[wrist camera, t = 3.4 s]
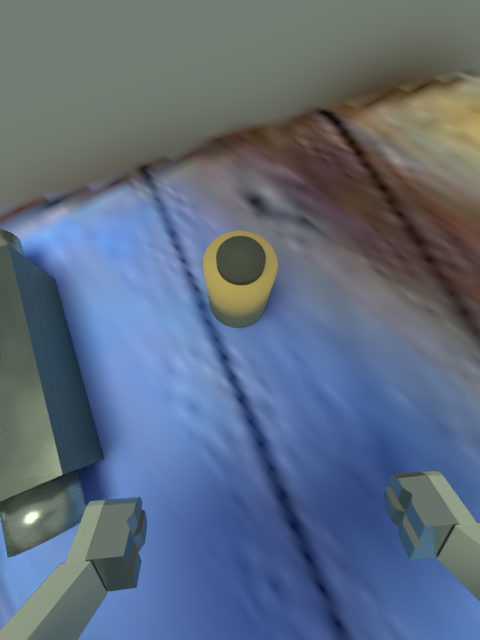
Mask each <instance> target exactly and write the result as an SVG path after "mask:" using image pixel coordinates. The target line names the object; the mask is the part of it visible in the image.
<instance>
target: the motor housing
mask: <svg viewBox="0 0 480 640" xmlns="http://www.w3.org/2000/svg"><path fill="white" fill-rule="evenodd" d="M103 459H104V458H103V454H102V450H101V447H100V443H99V439H98V436H97V432H96V428H95V425H94V421H93V417H92V414H91V410H90V406H89V403H88V399H87V395H86V392H85V388H84V384H83V381H82V377H81V373H80V370H79V366H78V362H77V359H76V355H75V351H74V348H73V344H72V340H71V337H70V333H69V329H68V326H67V322H66V318H65V315H64V311H63V308H62V304H61V300H60V297H59V293H58V289H57V286H56V282H55V279H54V278H52V277H51V276H50V275H48V274H47V273H46V272H44V271H43V270H42V269H40V268H39V267H38V266H36V265H35V264H34V263H33V262H31V261H30V260H29V259H27V258H26V257H25V256H24V252H23V248H22V244H21V241H20V240H19V238H18V237H17V236H15V235H14V234H12V233H10V232H8V231H5V230H2V229H0V517H1V523H2V529H3V534H4V540H5V545H6V551H7V557H12V556H15V555H18V554H20V553H23V552H25V551H27V550H29V549H31V548H34V547H36V546H38V545H40V544H42V543H44V542H46V541H48V540H50V539H52V538H54V537H55V536H57V535H59V534H61V533H63V532H65V531H67V530H68V529H70V528H72V527H73V526H75V525H77V524H78V523H80V522H81V519H82V517H83V514H84V511H85V508H86V507H87V505H86V501H85V497H84V493H83V489H82V485H81V481H80V477H79V473H78V470H80V469H82V468H84V467H87V466H89V465H91V464H94V463H96V462H98V461H100V460H103Z"/></svg>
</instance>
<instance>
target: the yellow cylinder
mask: <svg viewBox="0 0 480 640" xmlns="http://www.w3.org/2000/svg"><path fill="white" fill-rule="evenodd" d="M203 269H204V275H205V281H206V286H207V292H208V297H209V303H210V307H211V311H212V313H213V315H214V316H215V317H216V319H217V320H218V321H220V322H221V323H223V324H224V325H226V326H229V327H234V328H242V327H247V326H249V325H251V324H253V323H255V322H256V321H257V320H258V319H259V318H260V317H261V315H262V314H263V312H264V309H265V306H266V303H267V300H268V298H269V295H270V292H271V289H272V286H273V283H274V280H275V277H276V274H277V270H278V261H277V256H276V253H275V251H274V249H273V248H272V246H271V245H270V244H269V243H268V242H267V241H266V240H265V239H264V238H262V237H261V236H259V235H257V234H255V233H252V232H248V231H232V232H228V233H225V234H223V235H221V236H219V237H217V238H216V239H215V240H214V241H213V242H212V243H211V244H210V245H209V246H208V248H207V250H206V252H205V255H204V259H203Z"/></svg>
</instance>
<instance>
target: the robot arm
mask: <svg viewBox="0 0 480 640" xmlns="http://www.w3.org/2000/svg"><path fill="white" fill-rule="evenodd" d="M388 482H389V484H390V486H389V487H388V488H386V489H385V492H384V505H385V508H386V511H387V513H388V515H389V518H390V520H391V521H392V522H393V523H394V524H396V525H397V526H398V527H399V533H398V536H399V538H400V540H401V542H402V545H403V547H404V549H405V551H406V553H407V555H408V557H409V559H424V558H437V560H438V561H439V562H440V563H441V564H442V565H443V566H444V567H445V568H446V569H447V570H448V571H449V572H450V573H451V574H452V575H453V576H454V577H455V578H456V579H457V580H458V581H459V582H461V583H462V584H463V585H464V586H465V587H466V588H467V589H468V590H469V591H470V592H471V593H472V594H473V595H474V596H475V597H476V598H477V599H478V600H479V601H480V523H477V522H476V521H475V519H474V518H473V516H472V515H471V514H470V512H469V511H468V510H467V508H466V507H465V505H464V504H463V503H462V501H461V500H460V498H459V497H458V496H457V494H456V493H455V492H454V490H453V489H452V487H451V486H450V485H449V483H448V482H447V481H446V479H445V478H444V476H443V475H442V474H441V473H440V472H438V471H435V470H433V471H423V472H411V473H402V474H392V475H391V476H389V479H388ZM141 508H142V500H141V498H140V497H132V498H121V499H110V500H109V499H106V500H96V501H90V502H89V504H88V505H87V507H86V508H85V511H84V514H83V517H82V519H81V522H80V525H79V527H78V530H77V533H76V536H75V538H74V541H73V544H72V546H71V549H70V552H69V555H68V557H67V560H66V563H61V564H59V566H58V567H57V568H56V569H55V570H54V571H53V572H52V573H51V574H50V576H49V577H48V578H47V579H46V580H45V581H44V582H43V583H42V584H41V586H40V587H39V588H38V589H37V590H36V591H35V592H34V593H33V595H32V596H31V597H30V598H29V599H28V600H27V601H26V602H25V603H24V605H23V606H22V607H21V608H20V609H19V610H18V611H17V612H16V614H15V615H14V616H13V617H12V618H11V619H10V620H9V621H8V622H7V624H6V625H5V626H4V627H3V628H2V629H1V630H0V640H78V638H79V637H80V635H81V634H82V632H83V630H84V629H85V627H86V626H87V624H88V623H89V621H90V620H91V618H92V617H93V615H94V613H95V612H96V610H97V609H98V607H99V606H100V604H101V603H102V601H103V600H104V598H105V596H106V595H107V591H115V590H122V589H130V588H137V582H138V577H139V571H140V566H141V558H140V555H139V551H140V549H141V548H142V547H143V545H144V544H145V538H146V529H147V518H146V513H145V511H144V510H142V509H141Z"/></svg>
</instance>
